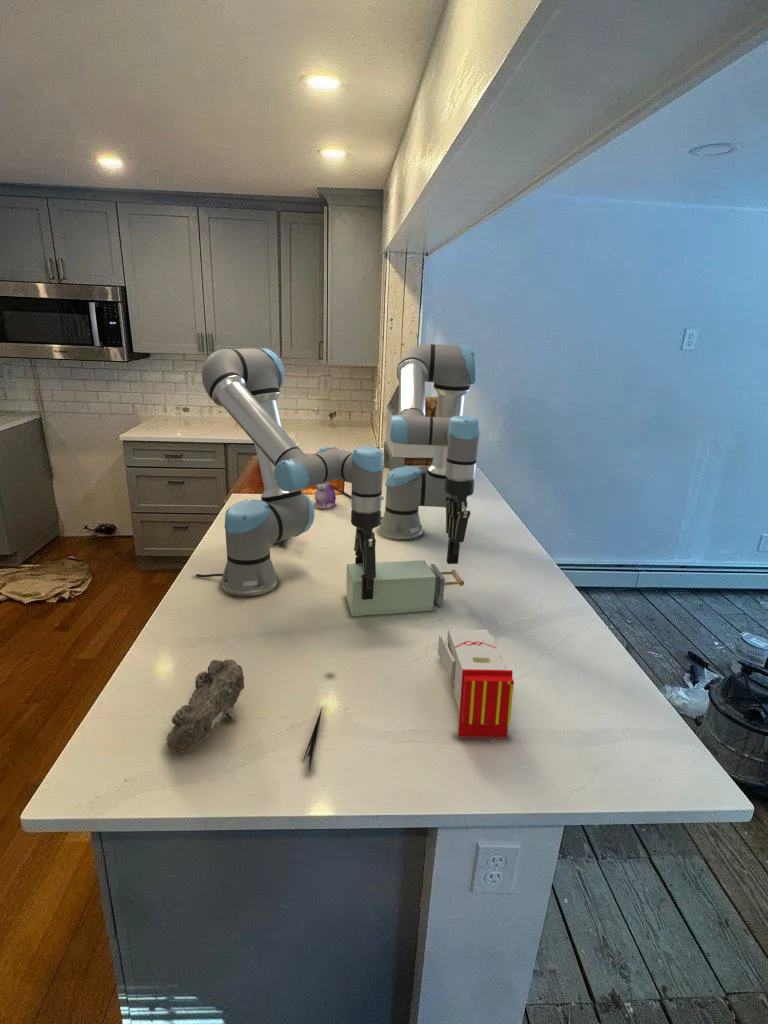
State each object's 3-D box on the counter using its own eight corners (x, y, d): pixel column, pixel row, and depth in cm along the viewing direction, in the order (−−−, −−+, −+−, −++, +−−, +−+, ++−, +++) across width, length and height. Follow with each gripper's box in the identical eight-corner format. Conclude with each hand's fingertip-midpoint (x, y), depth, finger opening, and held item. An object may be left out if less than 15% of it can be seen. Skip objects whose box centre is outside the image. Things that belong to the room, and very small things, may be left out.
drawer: (452, 588, 160) (455, 562, 158) (463, 604, 152) (466, 577, 149) (361, 593, 155) (362, 567, 152) (367, 610, 146) (368, 583, 144)
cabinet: (422, 592, 159) (424, 560, 156) (432, 610, 150) (435, 576, 147) (346, 597, 155) (346, 563, 151) (352, 616, 145) (353, 581, 142)
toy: (488, 613, 130) (523, 677, 101) (484, 667, 133) (517, 744, 104) (435, 612, 130) (455, 676, 101) (432, 666, 133) (451, 743, 103)
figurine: (318, 511, 218) (318, 473, 213) (309, 502, 226) (309, 466, 221) (341, 508, 222) (341, 471, 217) (331, 500, 231) (331, 464, 226)
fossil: (192, 660, 117) (244, 628, 112) (224, 691, 120) (276, 661, 115) (142, 746, 98) (202, 712, 93) (182, 779, 101) (242, 748, 96)
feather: (331, 679, 122) (336, 673, 122) (307, 777, 96) (313, 769, 95) (324, 675, 122) (329, 669, 121) (298, 772, 95) (304, 764, 95)
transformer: (382, 463, 289) (386, 382, 275) (445, 464, 293) (451, 384, 279) (390, 482, 257) (394, 392, 243) (460, 483, 261) (468, 394, 247)
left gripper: (390, 525, 132) (386, 609, 140) (372, 494, 153) (369, 569, 160) (359, 526, 130) (356, 611, 138) (344, 495, 151) (343, 570, 159)
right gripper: (483, 485, 139) (474, 572, 147) (465, 471, 151) (457, 552, 159) (454, 485, 137) (446, 573, 145) (438, 471, 149) (431, 553, 157)
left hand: (363, 588), depth 149 cm, fingers closed on cabinet, 10 cm apart
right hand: (452, 562), depth 152 cm, fingers closed
